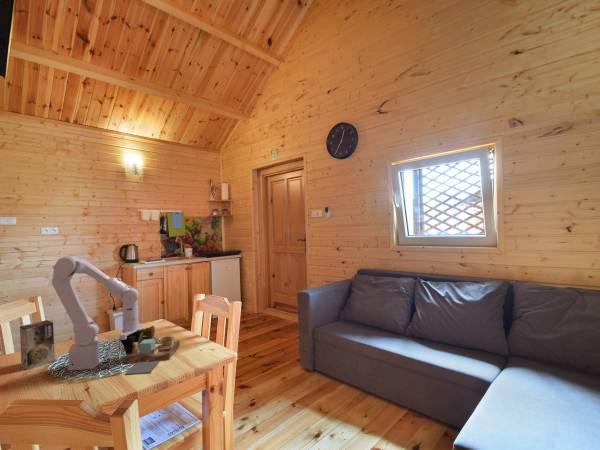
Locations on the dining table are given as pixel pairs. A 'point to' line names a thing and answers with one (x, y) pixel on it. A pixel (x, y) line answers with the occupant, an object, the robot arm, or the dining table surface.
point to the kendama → (147, 333)
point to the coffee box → (37, 344)
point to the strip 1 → (136, 352)
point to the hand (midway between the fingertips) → (131, 350)
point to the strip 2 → (166, 341)
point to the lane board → (161, 355)
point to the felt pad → (142, 368)
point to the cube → (147, 346)
